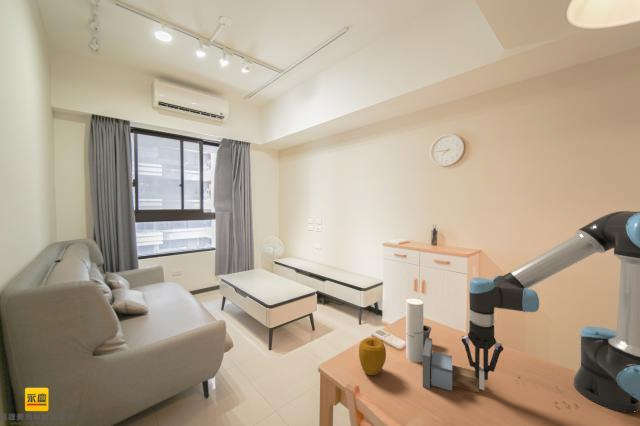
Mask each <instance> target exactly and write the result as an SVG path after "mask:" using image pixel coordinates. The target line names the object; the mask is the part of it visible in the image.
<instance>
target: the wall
mask: <svg viewBox="0 0 640 426" xmlns="http://www.w3.org/2000/svg"><path fill="white" fill-rule="evenodd" d="M432 353H433V338H430V337H429V338H427V337H426V340H425V345H424V346H423V361H422V387H423V388H425V389H428V390H430V389H431V361H432Z"/></svg>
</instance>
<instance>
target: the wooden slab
mask: <svg viewBox="0 0 640 426" xmlns="http://www.w3.org/2000/svg"><path fill="white" fill-rule="evenodd" d="M452 387H458V388H461V389H465V390H469V391H472V392H475V393H480V389H479V378H476V376H475V369H470V368H466V367H462V366H457V365H454V364H452Z"/></svg>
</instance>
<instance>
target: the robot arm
mask: <svg viewBox="0 0 640 426" xmlns="http://www.w3.org/2000/svg"><path fill="white" fill-rule="evenodd" d="M612 249H613V255H614V256H615V257H616V258H617V259H618V260H619V261H620V268H619V269H620V271H619V272H620V273H619V284H618V285H619V289H618V303H617V318H616V319H617V320H616V330H614V329H609V328H605V327H598V326H583V327H582V328H581V333H580V367H579V369H578V370H577V371H576V374H575V376H574V378H573V388H574V389H575V390H576V391H577V392H578V393H579V394H581V395H582V396H584V397H585V398H587V400H590V401H592V402H594V403H596V404H598V405H600V406H602V405H603V406H602V407H604V408H607V407H608V409H610V408H611V410H613V409H614V410H613V411H617V410H618V411H617V412H621V411H626V412H625V413H628V412H633V413H635V412H634V411H637V410H638V411H639V410H640V211H629V210H627V211H626V210H623V211H614V212H610V213H608V214H605V215H603V216H601V217H598V218H596V219H595V220H593V221H591V222H590V223H588V224H586V225H584V226H582V227H581V228H579V229H577V230H576V232H575V235H573V236H572V237H570V238H568V239H566V240H564V241H563V242H561V243H559V244H557V245H556V246H554V247H551V249H549V250H547V251H545V252H543V253H542V254H540V255H538V256H536V257H535V258H533V259H531V260H529V261H527V262H526V263H524V264H522V265H519V266H518V267H517V268H515V269H513V270H511V271H510V272H507V273H506V274H504V275H501V274H500V275H499V274H498V275H495V276H493V277H492V278H491V279H489V278H486V277H485V278H484V277H473V278H471V279H470V280H469V281H470V282H469V289H468V291H469V293H468V294H469V295H468V296H469V310H468V311H469V317H468V319H469V322H468V323H469V325H468V326H469V329H468V333H467V335H466V336H464V335H462V336H461V337H460V338H461V339H460V340H461V343H462V344H463V346H464V348H465V352H466V353H465V354H466V356H467V360H468V364H469V366H470V367H471V368H474V371H475V376H476V378H479V390H482V391H485V381H488V380H489V372H492V373H494V372H495V370H496V367H497V363H498V360H499V358H500V355H501V353H502V352H503V351H504V346H503V344H502V343H499V342H498V341H497V339H496V337H495V309H500V310H501V309H502V310H509V311H518V312H523V313H536V312H538V311H539V309H540V298H539V295H538V293H537V291H536V290H534V289H532V287H533V286H535V285H537V284H539V283H541V282H542V281H544V280H546V279H548V278H550V277H552V276H554V275H556V274H558V273H560V272H562V271H564V270H565V269H567V268H569V267H571V266H573V265H574V264H575V265H576V264H577V263H578V262H580V261H583V260H585V259H586V258H588V257H591V256H592V255H594V254H596V253H599V254H601V253H602V254H603V253H605V252H608V251H610V250H612ZM470 342H471V344H472V345H473V347H474V360H473V356H472V353H471V349H470V345H469V344H470ZM493 346H494V349H493V352H492V355H491V356H492V357H491V359H490V361H489V350H490V349H491V348H492V347H493ZM481 349H482V351H483V353H482V354H483V362H482V364H483V366H480V362H481V361H480V353H481ZM638 411H637V412H638Z"/></svg>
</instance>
